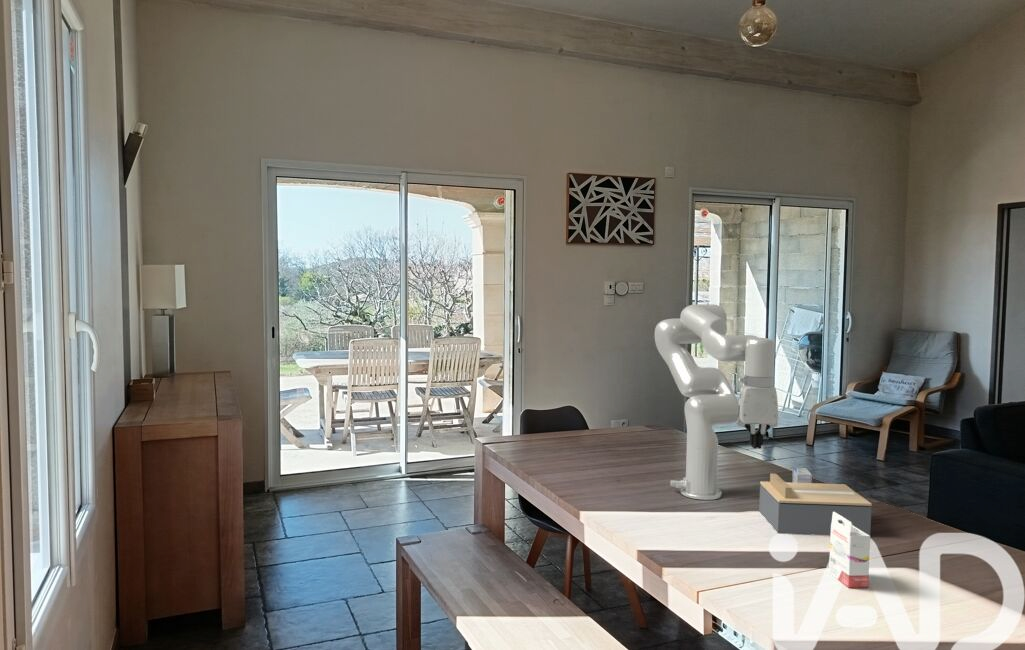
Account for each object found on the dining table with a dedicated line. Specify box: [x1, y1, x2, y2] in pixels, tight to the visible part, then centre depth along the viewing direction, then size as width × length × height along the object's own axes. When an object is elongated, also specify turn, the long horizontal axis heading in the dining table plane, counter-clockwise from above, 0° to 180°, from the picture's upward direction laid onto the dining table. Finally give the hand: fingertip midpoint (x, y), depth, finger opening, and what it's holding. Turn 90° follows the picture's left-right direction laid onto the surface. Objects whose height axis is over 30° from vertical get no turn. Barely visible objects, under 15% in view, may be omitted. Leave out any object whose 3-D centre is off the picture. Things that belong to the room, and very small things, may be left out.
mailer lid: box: [759, 473, 873, 507], centre depth 197 cm, size 24×18×4 cm
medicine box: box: [791, 467, 813, 483], centre depth 221 cm, size 8×4×9 cm, turn 168°
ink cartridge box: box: [828, 512, 871, 589], centre depth 159 cm, size 9×5×15 cm, turn 5°
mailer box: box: [758, 484, 872, 536], centre depth 197 cm, size 24×18×8 cm
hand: (756, 447), depth 197 cm, fingers closed
